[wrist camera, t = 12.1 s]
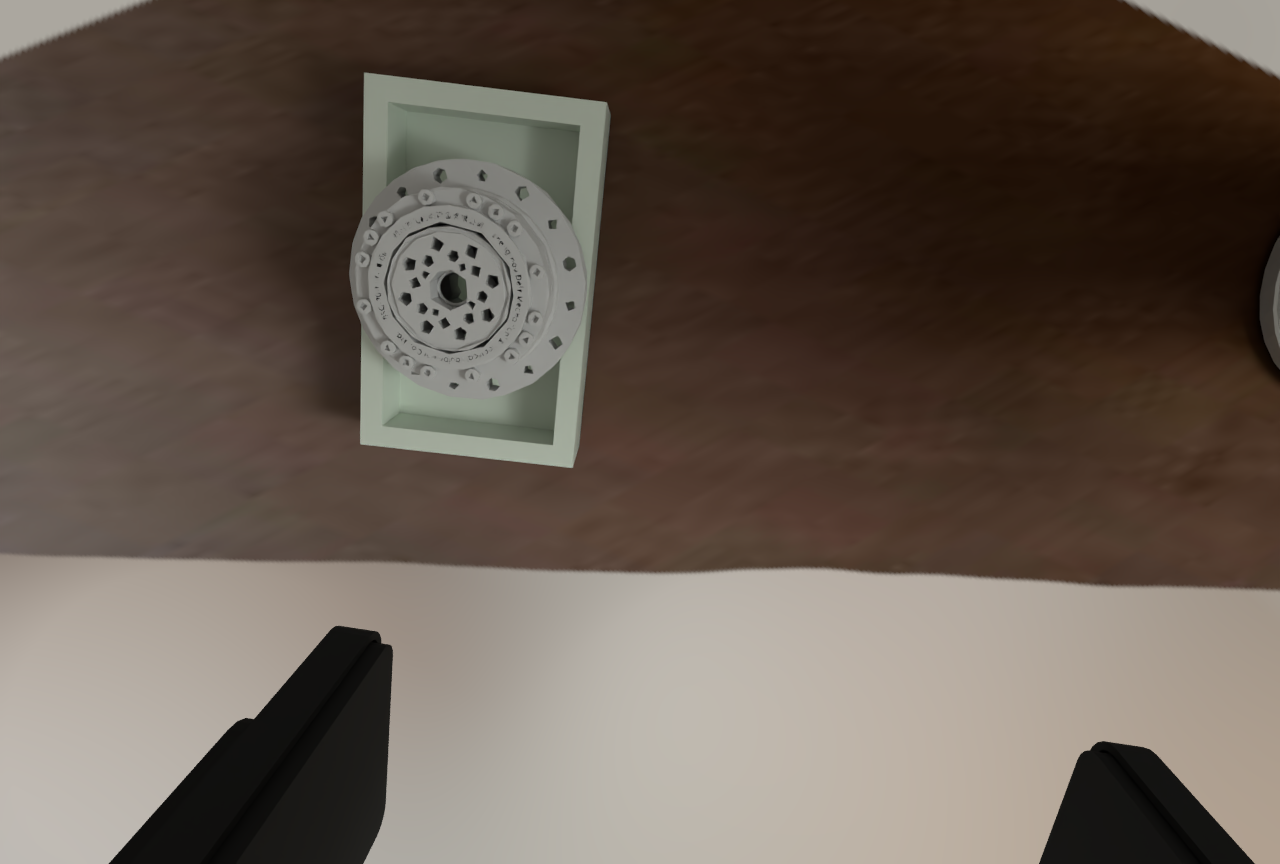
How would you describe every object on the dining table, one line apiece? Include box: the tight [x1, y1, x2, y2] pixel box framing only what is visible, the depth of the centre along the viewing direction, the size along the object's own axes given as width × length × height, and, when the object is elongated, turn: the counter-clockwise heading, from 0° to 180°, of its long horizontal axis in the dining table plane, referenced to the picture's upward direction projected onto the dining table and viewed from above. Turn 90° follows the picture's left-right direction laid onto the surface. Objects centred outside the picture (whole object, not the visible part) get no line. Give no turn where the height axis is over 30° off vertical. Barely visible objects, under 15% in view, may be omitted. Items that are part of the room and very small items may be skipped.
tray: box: [360, 73, 611, 468], centre depth 34 cm, size 10×16×4 cm, turn 173°
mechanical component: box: [349, 159, 587, 400], centre depth 30 cm, size 10×4×10 cm
